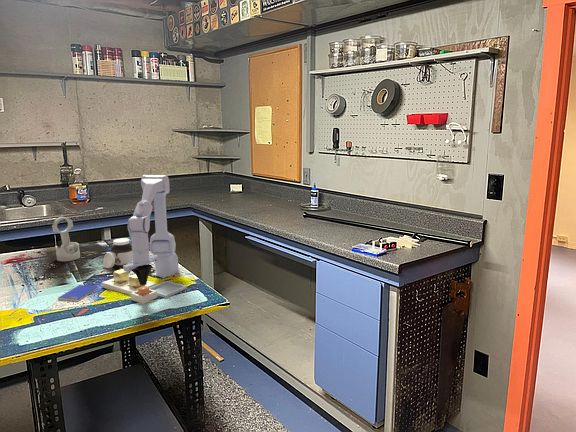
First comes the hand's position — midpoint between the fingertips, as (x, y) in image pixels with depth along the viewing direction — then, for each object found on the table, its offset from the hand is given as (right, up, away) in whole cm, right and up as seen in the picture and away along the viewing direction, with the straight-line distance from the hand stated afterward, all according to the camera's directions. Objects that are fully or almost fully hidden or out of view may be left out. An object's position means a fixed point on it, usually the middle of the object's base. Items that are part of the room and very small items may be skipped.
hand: (143, 284), depth 159 cm
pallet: (-10, -3, +13) cm, 17 cm away
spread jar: (-24, +2, +38) cm, 45 cm away
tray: (+6, -4, +9) cm, 12 cm away
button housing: (0, -6, +1) cm, 6 cm away
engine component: (-53, +5, +49) cm, 72 cm away
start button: (0, -4, +1) cm, 4 cm away
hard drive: (-27, -5, +7) cm, 28 cm away
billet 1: (-14, -3, +15) cm, 21 cm away
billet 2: (-6, -4, +10) cm, 13 cm away
